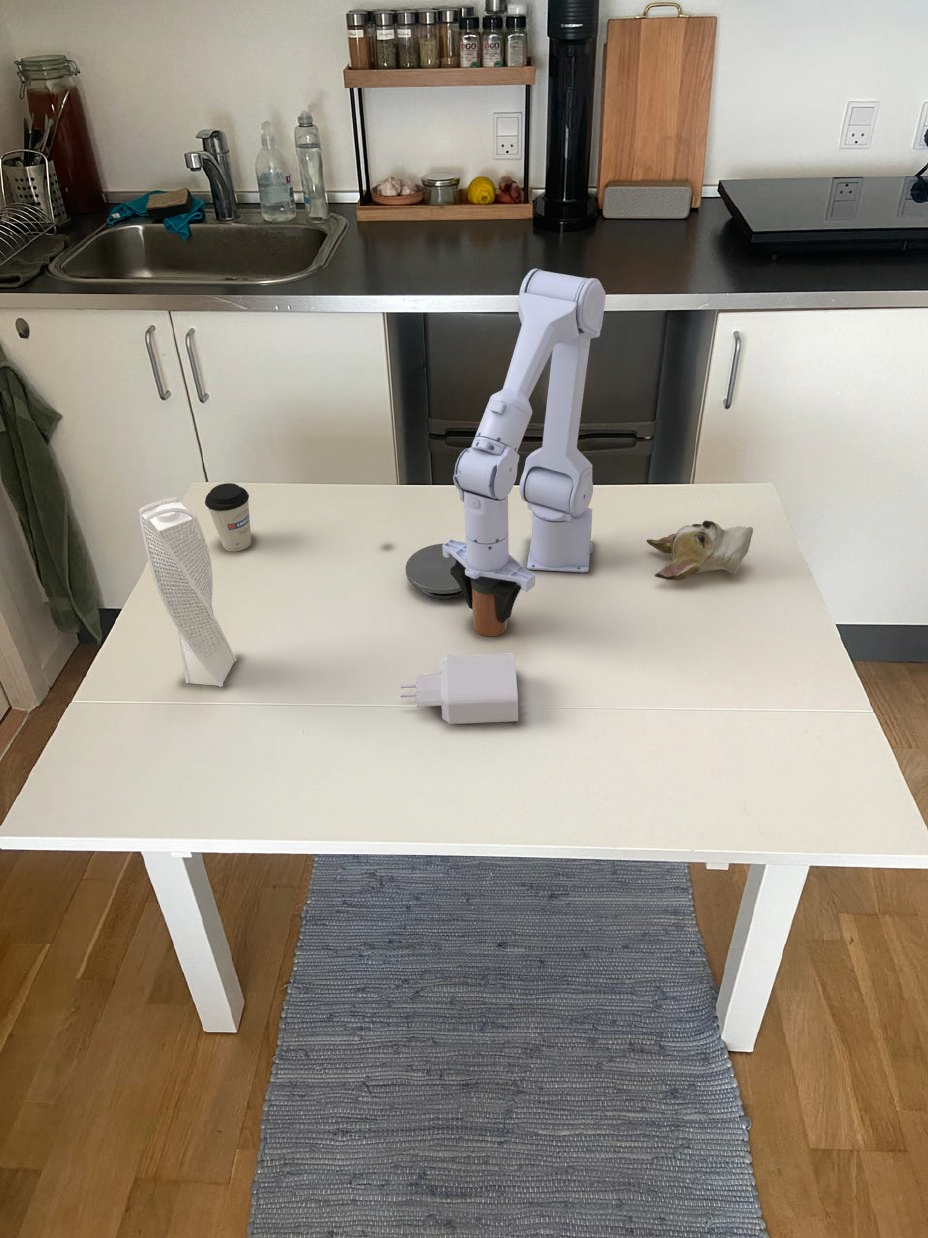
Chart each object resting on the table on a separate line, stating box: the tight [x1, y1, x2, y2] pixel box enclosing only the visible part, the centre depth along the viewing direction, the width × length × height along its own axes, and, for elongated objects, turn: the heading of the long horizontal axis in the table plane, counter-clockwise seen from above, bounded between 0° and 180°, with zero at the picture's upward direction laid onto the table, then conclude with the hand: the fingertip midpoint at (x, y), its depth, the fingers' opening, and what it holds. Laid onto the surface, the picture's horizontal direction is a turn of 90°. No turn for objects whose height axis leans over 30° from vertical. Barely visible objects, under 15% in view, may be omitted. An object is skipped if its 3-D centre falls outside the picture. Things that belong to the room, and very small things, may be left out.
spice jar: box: [471, 576, 507, 638], centre depth 132 cm, size 5×5×9 cm
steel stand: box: [405, 542, 464, 600], centre depth 142 cm, size 12×12×3 cm
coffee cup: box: [204, 482, 252, 552], centre depth 151 cm, size 7×7×10 cm
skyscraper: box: [137, 496, 237, 688], centre depth 120 cm, size 8×8×28 cm
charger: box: [399, 652, 519, 725], centre depth 121 cm, size 5×9×15 cm
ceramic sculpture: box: [646, 520, 754, 582], centre depth 141 cm, size 11×9×15 cm
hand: (489, 611), depth 133 cm, fingers closed on spice jar, 5 cm apart
